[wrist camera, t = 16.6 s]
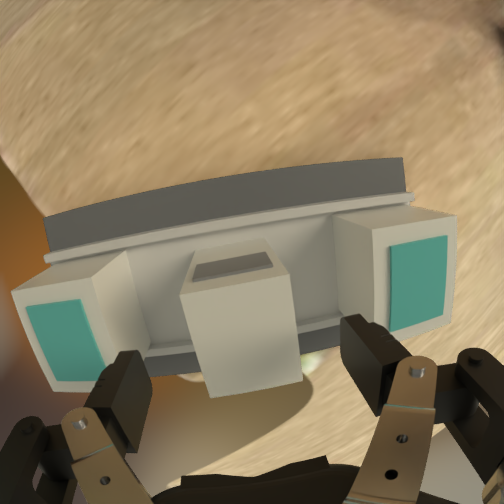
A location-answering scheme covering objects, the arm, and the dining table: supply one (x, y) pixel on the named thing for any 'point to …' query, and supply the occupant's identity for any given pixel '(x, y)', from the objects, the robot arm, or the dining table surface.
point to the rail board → (230, 231)
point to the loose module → (241, 318)
